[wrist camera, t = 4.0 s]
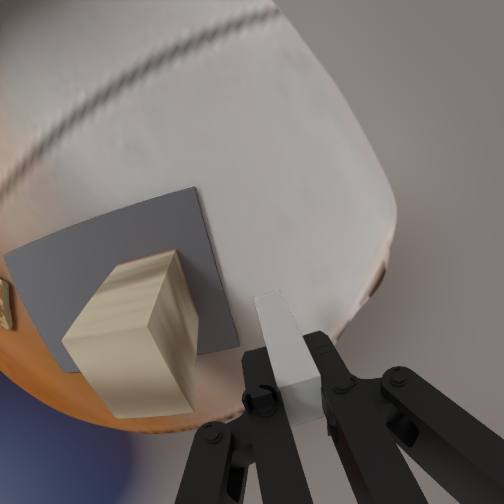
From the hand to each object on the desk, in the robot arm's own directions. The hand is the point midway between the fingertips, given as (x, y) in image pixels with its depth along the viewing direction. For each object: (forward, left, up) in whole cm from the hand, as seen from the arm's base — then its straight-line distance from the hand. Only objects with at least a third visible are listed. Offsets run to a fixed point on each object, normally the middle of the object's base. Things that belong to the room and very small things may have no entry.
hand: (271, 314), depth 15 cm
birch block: (0, -8, -7) cm, 10 cm away
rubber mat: (0, -13, -7) cm, 15 cm away
